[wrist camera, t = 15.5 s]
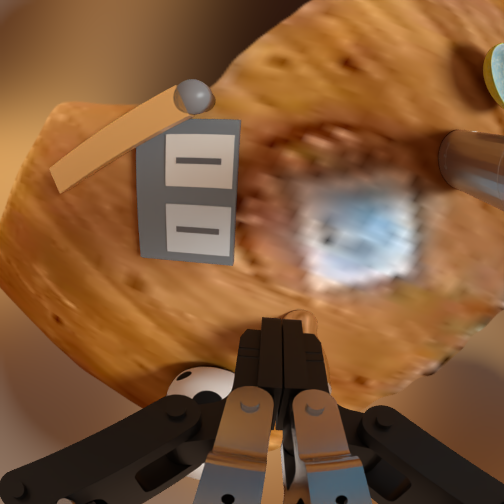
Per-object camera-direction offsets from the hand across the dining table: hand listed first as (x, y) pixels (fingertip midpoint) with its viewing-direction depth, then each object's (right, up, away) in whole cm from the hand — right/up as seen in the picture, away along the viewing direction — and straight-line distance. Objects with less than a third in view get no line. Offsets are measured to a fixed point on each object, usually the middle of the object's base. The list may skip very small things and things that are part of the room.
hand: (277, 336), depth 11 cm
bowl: (+37, +31, +18) cm, 52 cm away
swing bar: (-17, +18, +22) cm, 33 cm away
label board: (-10, +12, +30) cm, 33 cm away
